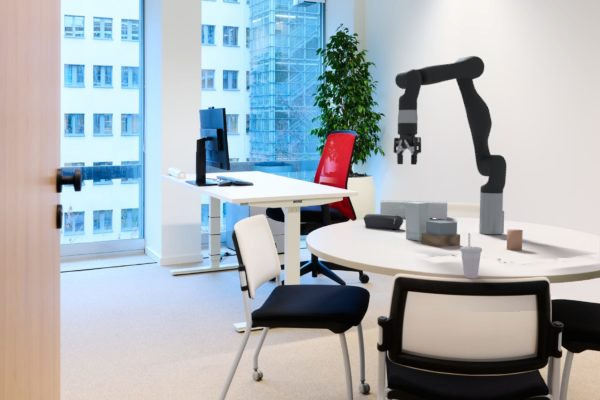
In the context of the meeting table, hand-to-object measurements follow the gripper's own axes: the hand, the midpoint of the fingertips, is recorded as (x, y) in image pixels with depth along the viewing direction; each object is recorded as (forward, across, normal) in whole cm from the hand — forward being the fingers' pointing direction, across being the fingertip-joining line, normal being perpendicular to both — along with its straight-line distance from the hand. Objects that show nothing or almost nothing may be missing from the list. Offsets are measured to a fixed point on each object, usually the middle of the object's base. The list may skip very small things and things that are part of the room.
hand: (406, 164), depth 248 cm
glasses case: (+30, +28, -9) cm, 42 cm away
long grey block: (+30, +52, -44) cm, 75 cm away
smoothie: (+34, -56, +18) cm, 68 cm away
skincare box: (+30, 0, -6) cm, 31 cm away
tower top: (+26, -15, -5) cm, 30 cm away
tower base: (+30, -15, -5) cm, 34 cm away
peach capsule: (+30, -36, -21) cm, 51 cm away
